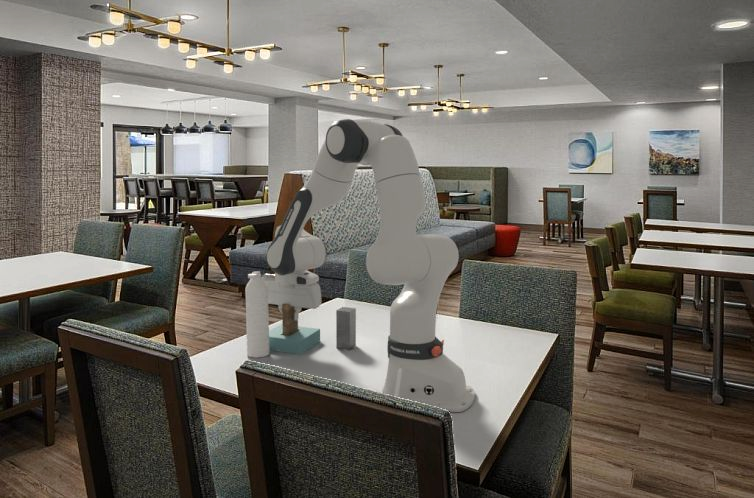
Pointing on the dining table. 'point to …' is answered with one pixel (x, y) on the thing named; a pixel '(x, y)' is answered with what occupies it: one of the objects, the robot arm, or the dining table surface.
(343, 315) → the square metal peg
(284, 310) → the walnut blade
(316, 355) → the dining table surface
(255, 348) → the water bottle
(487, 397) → the dining table surface
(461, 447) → the dining table surface
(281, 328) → the socket block
